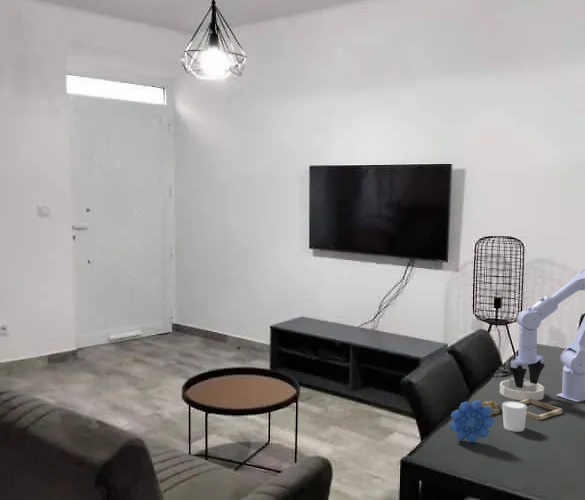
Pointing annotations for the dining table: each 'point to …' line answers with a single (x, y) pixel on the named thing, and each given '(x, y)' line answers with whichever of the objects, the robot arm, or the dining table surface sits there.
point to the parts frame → (545, 415)
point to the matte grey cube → (513, 385)
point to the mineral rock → (492, 406)
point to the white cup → (514, 415)
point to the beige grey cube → (528, 387)
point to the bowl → (521, 392)
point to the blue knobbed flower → (471, 421)
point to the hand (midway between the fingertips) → (526, 385)
